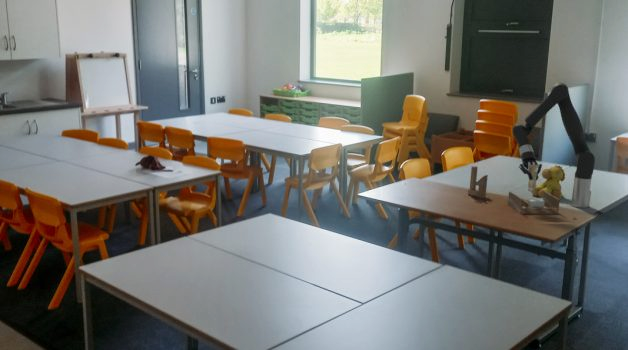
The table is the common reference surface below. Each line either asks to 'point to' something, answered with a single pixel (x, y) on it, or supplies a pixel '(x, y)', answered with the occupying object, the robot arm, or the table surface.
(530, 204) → the grey offcut
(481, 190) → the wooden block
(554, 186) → the yellow stuffed toy
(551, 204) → the brown wooden tray
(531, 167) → the tan wooden bar
